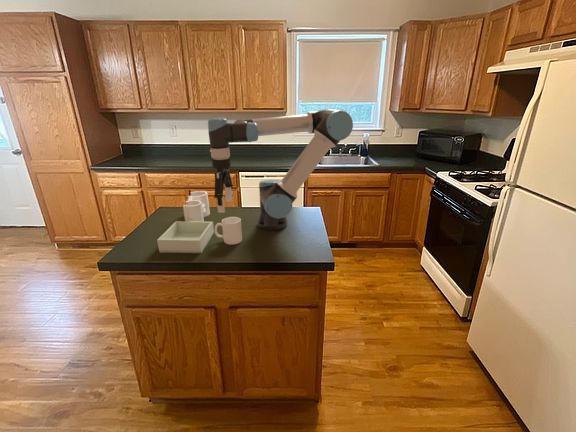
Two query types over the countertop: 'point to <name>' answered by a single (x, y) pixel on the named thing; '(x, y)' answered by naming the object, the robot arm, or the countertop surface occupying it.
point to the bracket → (196, 206)
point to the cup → (230, 230)
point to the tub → (186, 237)
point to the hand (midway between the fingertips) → (225, 206)
